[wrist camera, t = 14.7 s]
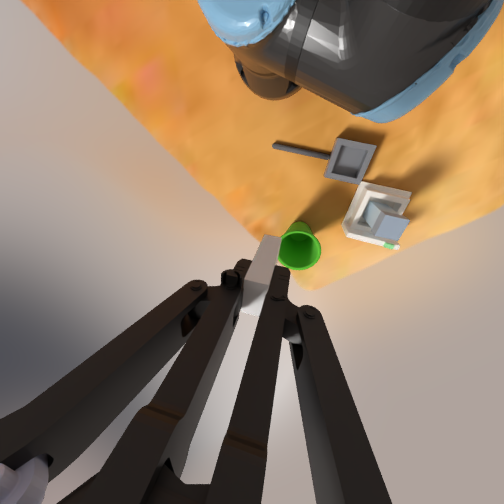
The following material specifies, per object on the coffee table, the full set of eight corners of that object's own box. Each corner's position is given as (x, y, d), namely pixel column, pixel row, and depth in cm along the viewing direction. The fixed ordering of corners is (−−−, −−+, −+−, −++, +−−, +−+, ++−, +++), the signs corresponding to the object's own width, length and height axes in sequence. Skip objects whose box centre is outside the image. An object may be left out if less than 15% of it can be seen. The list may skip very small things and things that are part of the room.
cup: (323, 217, 47) (327, 236, 38) (312, 250, 52) (314, 275, 42) (284, 210, 49) (279, 226, 39) (278, 243, 53) (271, 265, 44)
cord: (273, 142, 43) (272, 142, 42) (330, 154, 41) (330, 155, 40) (272, 147, 43) (271, 148, 42) (328, 160, 42) (329, 160, 41)
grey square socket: (336, 138, 40) (337, 137, 37) (372, 145, 39) (376, 145, 37) (323, 175, 43) (324, 177, 41) (356, 182, 42) (359, 184, 40)
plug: (369, 199, 43) (385, 214, 34) (388, 203, 42) (410, 220, 33) (361, 216, 45) (374, 235, 36) (379, 220, 44) (397, 241, 35)
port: (360, 180, 42) (370, 187, 36) (410, 191, 41) (430, 201, 34) (341, 224, 47) (346, 238, 41) (385, 235, 46) (398, 251, 39)
